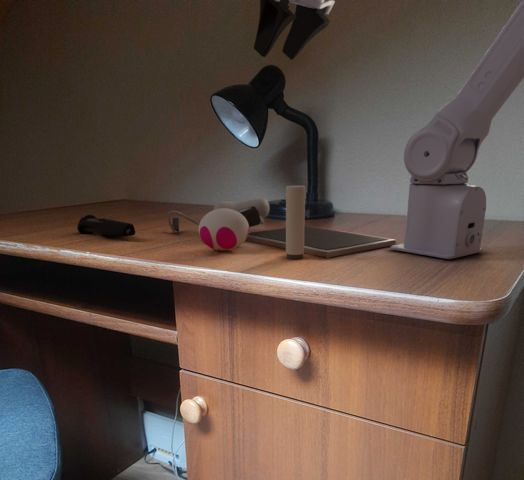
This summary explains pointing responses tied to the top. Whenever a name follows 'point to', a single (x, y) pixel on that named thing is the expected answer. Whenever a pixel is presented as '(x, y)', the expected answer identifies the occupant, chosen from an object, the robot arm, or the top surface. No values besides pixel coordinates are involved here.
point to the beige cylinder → (295, 221)
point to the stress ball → (223, 229)
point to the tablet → (323, 241)
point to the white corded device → (249, 209)
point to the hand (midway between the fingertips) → (273, 54)
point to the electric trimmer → (105, 227)
